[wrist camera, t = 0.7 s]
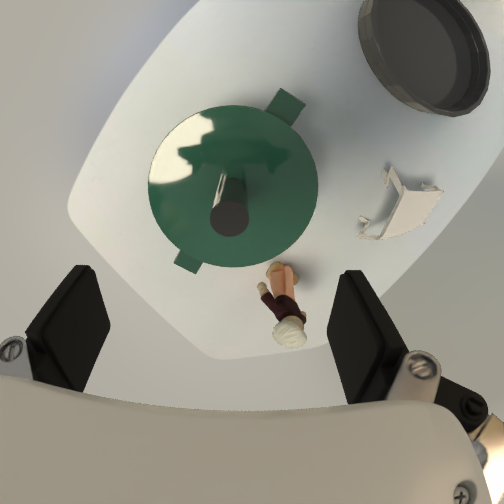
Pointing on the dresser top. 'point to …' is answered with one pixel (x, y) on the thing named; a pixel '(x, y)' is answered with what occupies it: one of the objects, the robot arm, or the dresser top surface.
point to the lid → (233, 186)
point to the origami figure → (405, 208)
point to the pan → (426, 53)
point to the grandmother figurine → (284, 306)
